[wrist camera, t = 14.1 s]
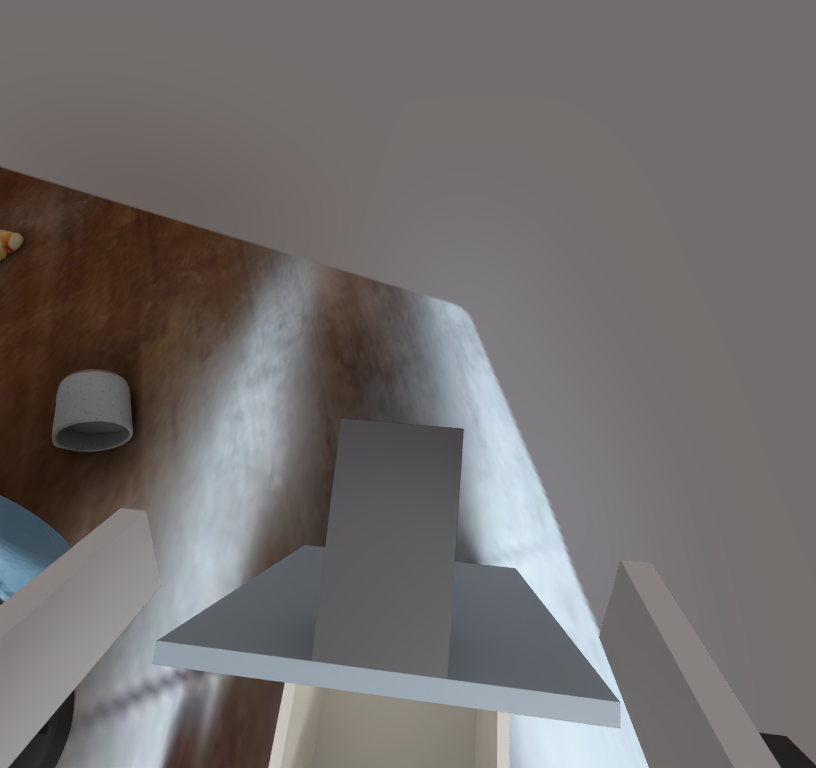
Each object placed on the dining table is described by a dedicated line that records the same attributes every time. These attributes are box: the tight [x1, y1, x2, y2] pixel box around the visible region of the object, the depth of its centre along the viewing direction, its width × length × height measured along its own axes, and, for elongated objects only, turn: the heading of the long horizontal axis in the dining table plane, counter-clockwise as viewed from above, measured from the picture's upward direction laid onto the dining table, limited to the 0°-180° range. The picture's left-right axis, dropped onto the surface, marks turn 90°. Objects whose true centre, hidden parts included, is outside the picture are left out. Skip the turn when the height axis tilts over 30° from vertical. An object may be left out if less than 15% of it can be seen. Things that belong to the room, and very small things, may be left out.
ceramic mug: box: [52, 369, 133, 452], centre depth 49 cm, size 11×8×8 cm
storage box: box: [269, 682, 509, 768], centre depth 34 cm, size 18×16×13 cm
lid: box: [153, 418, 620, 728], centre depth 24 cm, size 18×17×10 cm
